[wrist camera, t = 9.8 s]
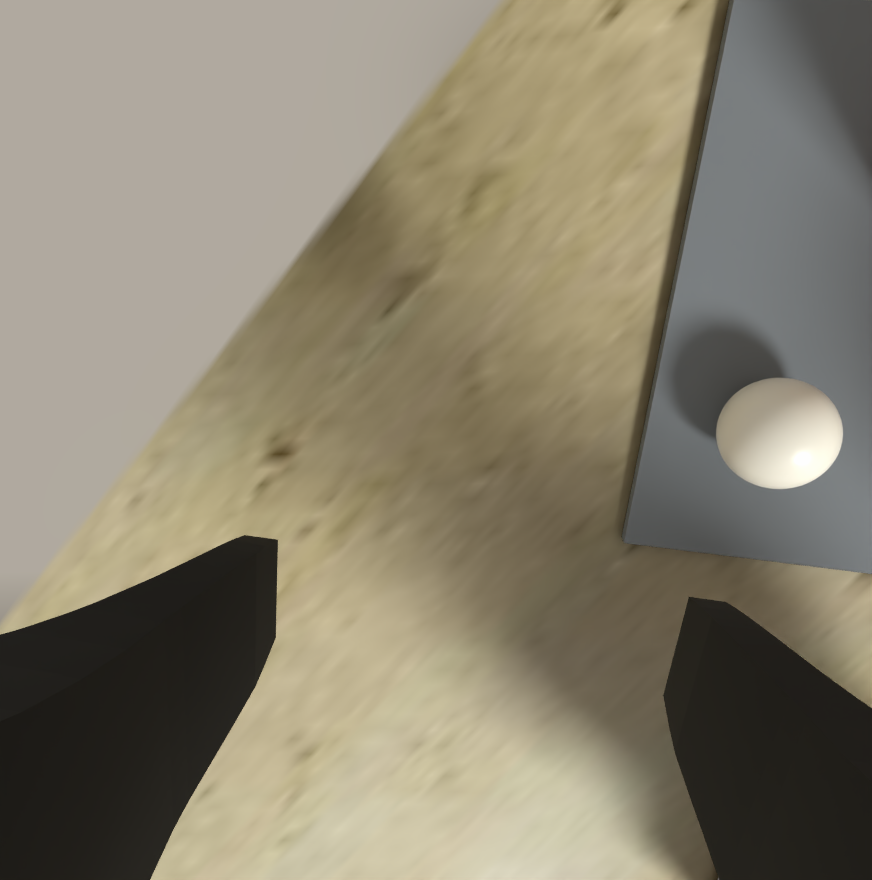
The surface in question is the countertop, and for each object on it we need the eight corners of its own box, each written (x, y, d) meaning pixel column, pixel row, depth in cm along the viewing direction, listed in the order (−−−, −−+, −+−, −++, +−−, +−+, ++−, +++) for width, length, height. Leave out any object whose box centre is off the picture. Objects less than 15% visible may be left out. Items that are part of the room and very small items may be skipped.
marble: (794, 472, 19) (847, 513, 16) (692, 460, 19) (725, 499, 16) (822, 373, 18) (883, 399, 15) (714, 362, 18) (754, 385, 15)
